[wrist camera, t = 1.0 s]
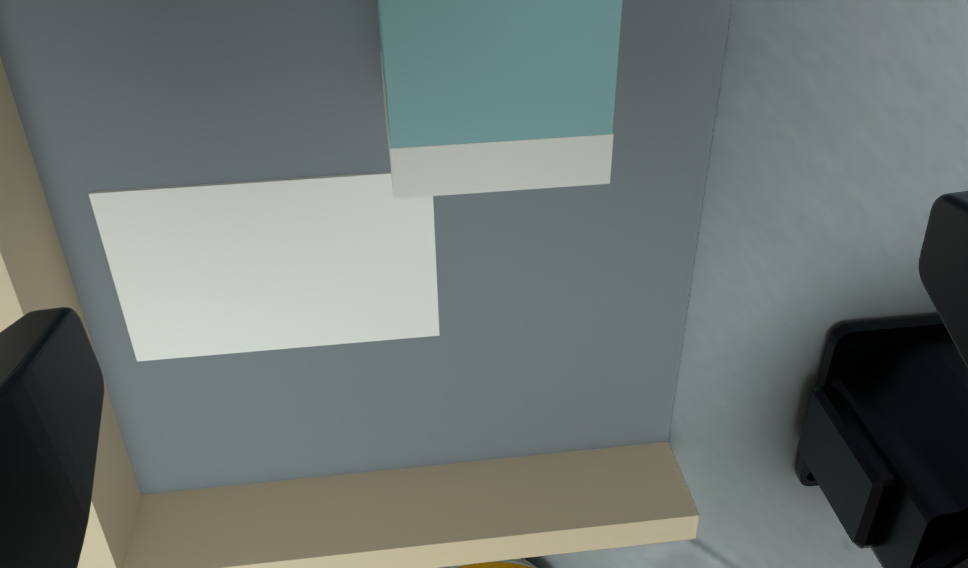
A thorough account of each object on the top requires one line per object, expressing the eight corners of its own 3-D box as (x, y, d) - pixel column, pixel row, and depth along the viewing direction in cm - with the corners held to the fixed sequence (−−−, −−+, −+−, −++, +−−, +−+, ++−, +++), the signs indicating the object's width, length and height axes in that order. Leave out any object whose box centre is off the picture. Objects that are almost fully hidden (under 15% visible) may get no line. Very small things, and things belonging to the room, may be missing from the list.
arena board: (764, -304, 18) (849, -300, 15) (659, 451, 29) (695, 538, 26) (-157, -291, 16) (-271, -283, 13) (117, 506, 27) (91, 606, 24)
